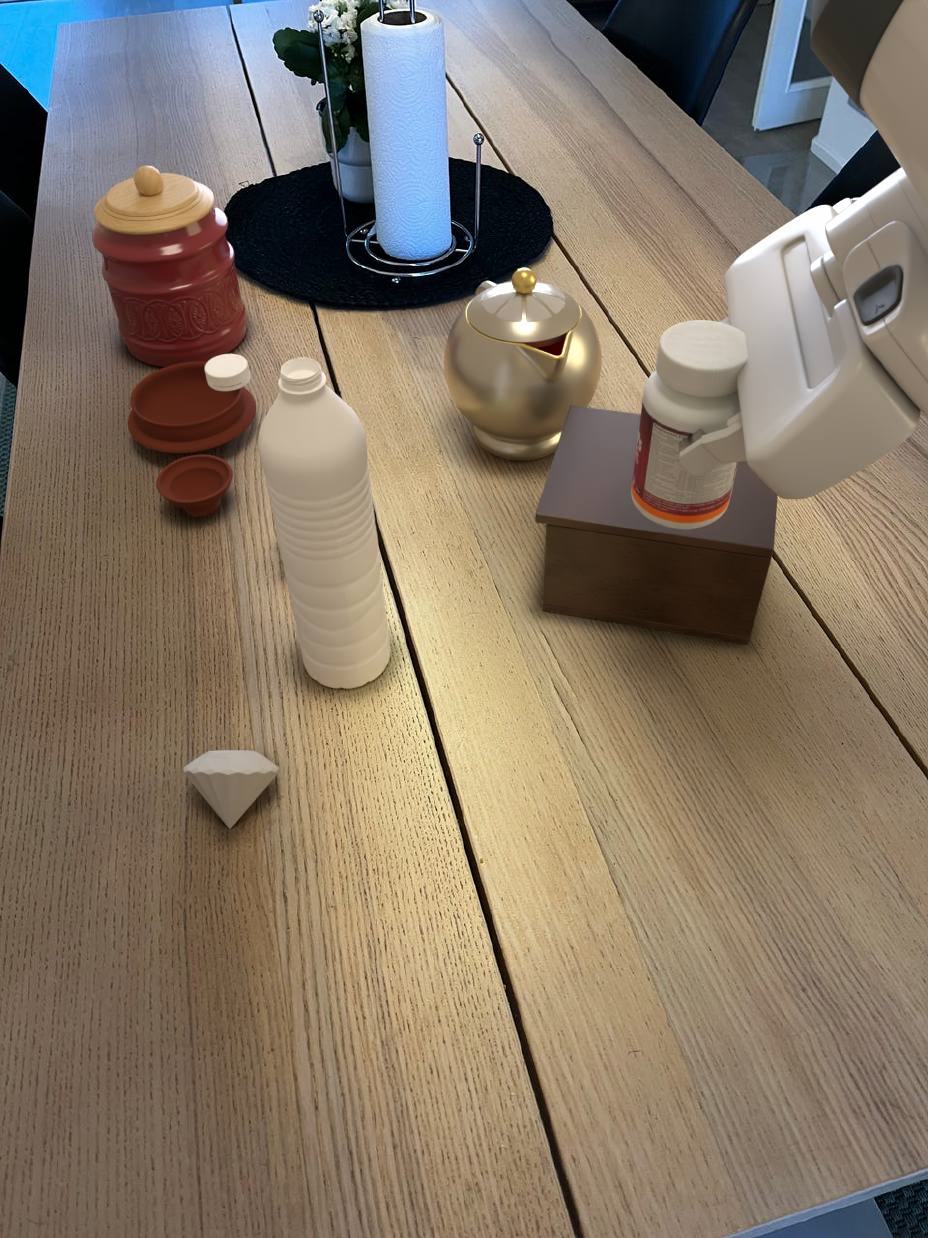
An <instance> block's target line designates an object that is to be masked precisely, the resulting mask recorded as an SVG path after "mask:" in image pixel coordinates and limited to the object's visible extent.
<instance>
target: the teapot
mask: <svg viewBox="0 0 928 1238" xmlns="http://www.w3.org/2000/svg"><path fill="white" fill-rule="evenodd" d="M537 279H538V277H537V275H536V273H535V272H534V271H533V270H532V269H530V268H528V267H521V268H517V270H516V271H514V273H513V274H512V276H511V280H509V281H504V282H501V283H495V282H493V281H490V280H485V281H483V282H481V283H480V285H478V287H477V288H476V290H475V292H474V297H473V298H472V299H471V300H470V301H469V302H467V304H466V305H465V306H464V307H463V308H462V310H461V311H460V312H459V314H458V315H457V317H456V319H455V320H454V322H453V323H452V326H451V327H450V330H449V333H448V335H447V339H446V342H445V347H444V348H445V349H444V354H443V370H444V377H445V382H446V386H447V389H448V391H449V395H450V397H451V398H452V401H453V402H454V404H455V406H456V407H457V410H459V412H460V413H461V414H462V415H463V417H464V418H465V419H466V420H467V421H468V422H469V423H470V424H472V432H473V436H474V438H475V440H476V442H477V443H478V444H479V446H480V447H481V448H482V449H483V450H485V451H486V452H488V453H489V454H491V455H493V456H495V457H498V458H500V459H504V460H509V461H515V462H516V461H517V462H518V461H519V462H524V461H525V462H526V461H535V460H539V459H543V458H545V457H548V456H549V455H552V454H555V451H556V448H557V445H558V442H559V439H560V435H561V432H562V429H563V426H564V423H565V420H566V416H567V413H568V410H569V407H570V405H573V406H581V407H589V405H590V403H591V401H592V400H593V398H594V397H595V393H596V391H597V390H598V386H599V382H600V378H601V373H602V366H603V365H602V364H603V361H602V360H603V359H602V356H603V355H602V346H601V341H600V338H599V333H598V331H597V329H596V327H595V324H594V323H593V320H592V318H591V317H590V315H589V314H588V312H587V311H586V310H585V308H584V307H583V306H582V305H581V304H580V303H579V301H578V300H576V299H575V298H574V297H573V296H572V295H570V294H569V293H567V292H566V291H564V290H563V289H561V288H560V287H558V286H556V285H555V286H554V285H553V284H551V283H550V284H549V283H547V282H544V281H539V280H537Z"/></svg>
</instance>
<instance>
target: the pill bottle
mask: <svg viewBox="0 0 928 1238" xmlns="http://www.w3.org/2000/svg"><path fill="white" fill-rule="evenodd" d="M658 342H659V343H658V350H657V356H656V361H655V370H654V371H653V372H652V373H651V374H650V375H649V377H648V378H647V380H646V382H645V385H644V388H643V394H642V399H641V400H642V401H641V409H640V414H641V417H640V426H639V433H638V440H637V448H636V455H635V463H634V471H633V479H632V488H631V495H632V500H633V502H634V504H635V506H636V508H637V509H638V510H639V511H640V512H641V513H642V514H643V515H644V516H645V517H647V518H648V519H650V520H652V521H654V522H656V523H657V524H660V525H663V526H666V527H670V528H675V529H694V528H699V527H703V526H706V525H708V524H711V523H712V522H714V521H716V520H717V519H719V518H720V517H721V516H722V515H723V514H724V512H725V511H726V509H727V507H728V505H729V501H730V496H731V492H732V488H733V484H734V478H735V474H736V469H737V464H738V462H733V463H725V464H721V463H720V464H719V465H717V466H715V467H714V468H712V469H711V470H709V471H707V472H706V473H704V474H703V475H701V476H692V475H690V474H689V473H688V472H687V471H686V470H685V469H684V468H683V467H682V466H681V465H680V464H679V443H680V441H681V440H683V439H684V438H688V437H689V436H690V435H691V434H693V433H694V432H696V431H697V430H699V429H700V428H701V429H702V430H703V431H704V432H705V433H706V434H709V433H712V432H715V431H719V430H722V429H725V428H727V424H726V422H727V421H728V420H729V419H730V418H732V417H733V416H735V415H736V414H738V413H739V412H740V404H739V396H738V387H737V376H738V374H739V373H740V371H741V370H742V368H743V367H744V365H745V364H746V362H747V360H748V352H747V346H746V338H745V334H744V333H743V332H742V331H740V330H739V329H737V328H735V327H733V326H730V325H728V324H725V323H721V321H716V320H710V319H709V320H706V319H698V320H697V319H694V320H693V319H692V320H685V321H682V322H679V323H676V324H673V325H671V326H670V327H668V328H667V329H665V331H664V332H663V333H662V334H661V337H660V340H659V341H658Z"/></svg>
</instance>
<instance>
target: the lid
mask: <svg viewBox="0 0 928 1238" xmlns="http://www.w3.org/2000/svg"><path fill="white" fill-rule="evenodd" d="M640 417H641V413H636V412H628V411H620V410H613V409H612V410H611V409H606V408H605V409H604V408H598V407H597V408H596V407H589V406H587V407H581V406H573V405H570V407H569V410H568V413H567V416H566V420H565V423H564V426H563V429H562V432H561V435H560V439H559V442H558V445H557V448H556V451H555V452H554V453H553V454H554V455H553V458H552V461H551V464H550V467H549V470H548V474H547V476H546V480H545V483H544V486H543V489H542V493H541V495H540V498H539V502H538V505H537V507H536V512H535V516H534V517H535V519H534V522H535V523H537V524H543V525H546V524H549V525H555V526H562V527H569V528H575V529H582V530H589V531H595V532H602V533H609V534H615V535H622V536H629V537H636V538H642V539H649V540H656V541H662V542H669V543H676V544H682V545H689V546H696V547H703V548H709V549H716V550H723V551H729V552H736V553H743V554H749V555H756V556H763V557H769V558H771V559H772V557H773V554H774V551H775V539H776V538H775V536H776V523H777V511H778V509H777V508H778V498H779V496H778V495H777V494H776V493H775V492H773V491H772V490H771V489H770V488H769V487H768V486H767V485H766V484H765V483H764V482H763V481H762V480H761V479H760V478H759V477H758V476H757V474H756V473H755V472H754V471H753V470H752V469H751V468H750V467H749V465H748V463H747V461H741V462H738V464H737V469H736V474H735V478H734V484H733V488H732V492H731V496H730V501H729V505H728V507H727V509H726V511H725V512H724V514H723V515H722V516H721V517H720V518H719V519H717V520H716V521H714V522H712V523H711V524H708V525H706V526H703V527H699V528H694V529H675V528H670V527H666V526H663V525H660V524H657V523H656V522H654V521H652V520H650V519H648V518H647V517H645V516H644V515H643V514H642V513H641V512H640V511H639V510H638V509H637V508H636V506H635V504H634V502H633V500H632V495H631V488H632V479H633V471H634V463H635V455H636V448H637V440H638V433H639V426H640Z"/></svg>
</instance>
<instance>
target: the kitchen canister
mask: <svg viewBox="0 0 928 1238" xmlns="http://www.w3.org/2000/svg"><path fill="white" fill-rule="evenodd" d="M93 216H94V219H95V221H96V222H97V224H96V225H95V226H94V228H93V232H92V234H91V241H92V245H93V246H94V248H95V249H96V250H97V252H99V253H100V254H102V259H103V262H102V265H101V275H102V278H103V279H104V281H105V282H106V284H107V288H108V290H109V294H110V297H111V300H112V304H113V307H114V311H115V314H116V318H117V320H118V323H117V324H118V327H117V328H118V330H119V333H120V337H121V340H122V341H123V343H124V344H125V345H126V347H127V350H128V351H129V353H130V354H131V356H133V357H134V358H135V359H137V360H138V361H141V362H142V363H145V364H149V365H152V366H156V367H162V368H165V367H168V366H171V365H175V364H179V363H185V362H208V361H209V360H210V359H212V358H214V357H216V356H219V355H223V354H229V353H230V352H231V351H233V350H234V349H235V348H236V347H237V346H238V345H240V343H241V342H242V341H243V339H244V338H245V335H246V334H247V333H246V332H247V320H248V319H247V318H248V317H247V315H248V314H247V311H246V305H245V303H244V301H243V299H242V294H241V289H240V285H239V277H238V274H237V268H236V264H235V258H236V256H235V250H234V247H233V245H232V244H231V243H230V242H229V241H228V239H227V237H226V233H227V231H228V227H229V219H228V216H227V214H226V213H225V211H224V210H223V209H222V208H220V207H219V206H218V205H216V204H215V195H214V193H213V191H212V190H211V189H210V188H209V187H208V186H207V185H204V184H203V183H201V182H198V181H194V180H193V179H191V178H190V177H188V176H185V175H181V174H177V173H172V172H171V173H170V172H160V171H159V169H157V168H156V167H154V166H153V165H142V166H140V167H138V168H137V169H136V170H135V172H134V176H133V177H130V178H127V179H125V180H122V181H121V182H118V183H116V184H115V185H114V186H112V187H111V188H109V190H108V192H107V193H106V194H104V195H103V196H102V197H101V198H100V199H99V200H98V201H97V202H96V204H95V206H94V209H93Z"/></svg>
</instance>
